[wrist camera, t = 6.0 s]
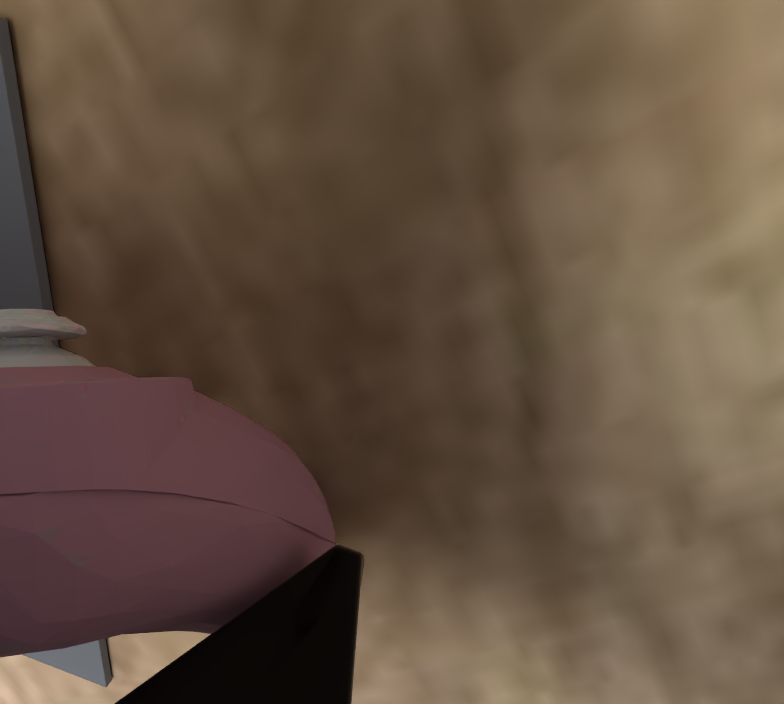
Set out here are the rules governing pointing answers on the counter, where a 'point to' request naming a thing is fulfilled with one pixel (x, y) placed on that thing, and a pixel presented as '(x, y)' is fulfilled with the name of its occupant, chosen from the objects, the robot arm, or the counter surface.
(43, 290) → the mat
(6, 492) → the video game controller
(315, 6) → the counter surface
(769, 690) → the counter surface
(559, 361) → the counter surface
